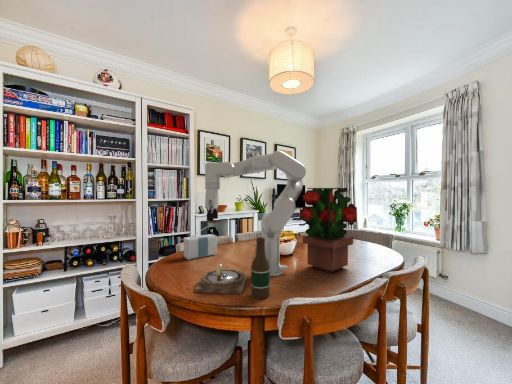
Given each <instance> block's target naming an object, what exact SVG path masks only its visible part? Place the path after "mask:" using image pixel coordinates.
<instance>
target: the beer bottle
mask: <svg viewBox="0 0 512 384" xmlns="http://www.w3.org/2000/svg"><path fill="white" fill-rule="evenodd" d="M264 241H265V238H262V236H261V237H257V238H256V239H255V242H256V249H255V257H254V259H253V261H252V263H251V267H250V271H251V272H250V273H251V275H250V277H251V278H250V284H251V285H250V289H251V290H250V292H251V297H252V298H254V299H255V300H256V299H258V300H265V299H268V297H269V296H270V293H271V276H270V264H269V262H268V260H267V258H266V255H265V242H264Z"/></svg>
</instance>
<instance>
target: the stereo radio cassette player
mask: <svg viewBox="0 0 512 384" xmlns="http://www.w3.org/2000/svg"><path fill="white" fill-rule="evenodd" d="M208 227H209V225H207V226H206V227H204V228H202V229H200V230H199V231H198V232H196V233H195V234H194V235H192V236H187V237H183V257H184V258H185V259H186V260H189V261H190V260H193V259H194V260H195V259H200V258H203V257H205V258H206V257H210V256H215V255H216V254H217V252H218V251H217V250H218V238H217V237H218V236H217V235H214V234H210V233H208V234H202V235H198V234H199V233H201V232H202V231H203V230H205V229H206V228H208Z"/></svg>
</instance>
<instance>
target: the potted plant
mask: <svg viewBox="0 0 512 384" xmlns="http://www.w3.org/2000/svg"><path fill="white" fill-rule="evenodd" d="M306 189H308V190H306V191H305V193H303V194H301V195H302V196H301V200H302V202H305V204H306V205H307V206H305V205H304V206H302V208H301V207H299V220H302V221H303V222H304V223H305V224H306V225H308V229H305V234H307V235H302V244H306V245H307V265H311V266H312V269H317V270H320V271H322V272H326V273H329V274H331V273H335V272H337V271H340V270H341V269H343V268H344V267H346V266H348V265H349V246H352V245H354V237H353V236H349V235H347V234H348V233H347V230H346V228H347V227H348V225H349V226H353V225H354V224H355V223H357V221H358V216H357V215H358V212H357V211H358V209H357V208H358V207H357V206H355V205H354V203H349V202H351V197H350V196H345V195H343V194H342V193H347V191H348V187H306ZM348 203H349V204H348ZM347 224H348V225H347Z"/></svg>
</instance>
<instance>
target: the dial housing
mask: <svg viewBox="0 0 512 384" xmlns="http://www.w3.org/2000/svg"><path fill="white" fill-rule="evenodd" d="M222 271H232V272H235V273H237V274H238V280H235V281H232V282H229V283H216V282H210V281H208V275H209V274H211V273H214V272H217V269H215V270H210V271H207V272H205V273H204V274H202V276H201V278H200V282H199V283H198V284H197V286H196V287H195V289H194V290H195V293H202V294H203V293H204V294H205V293H207V294H208V293H210V294H238V295H240V294H241V295H242V294H243V290H244V288H245V283H246V281H247V276H248V274H247V273H244V272H241V271H239V270H237V269H235V268H234V269H228V268H222Z"/></svg>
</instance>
